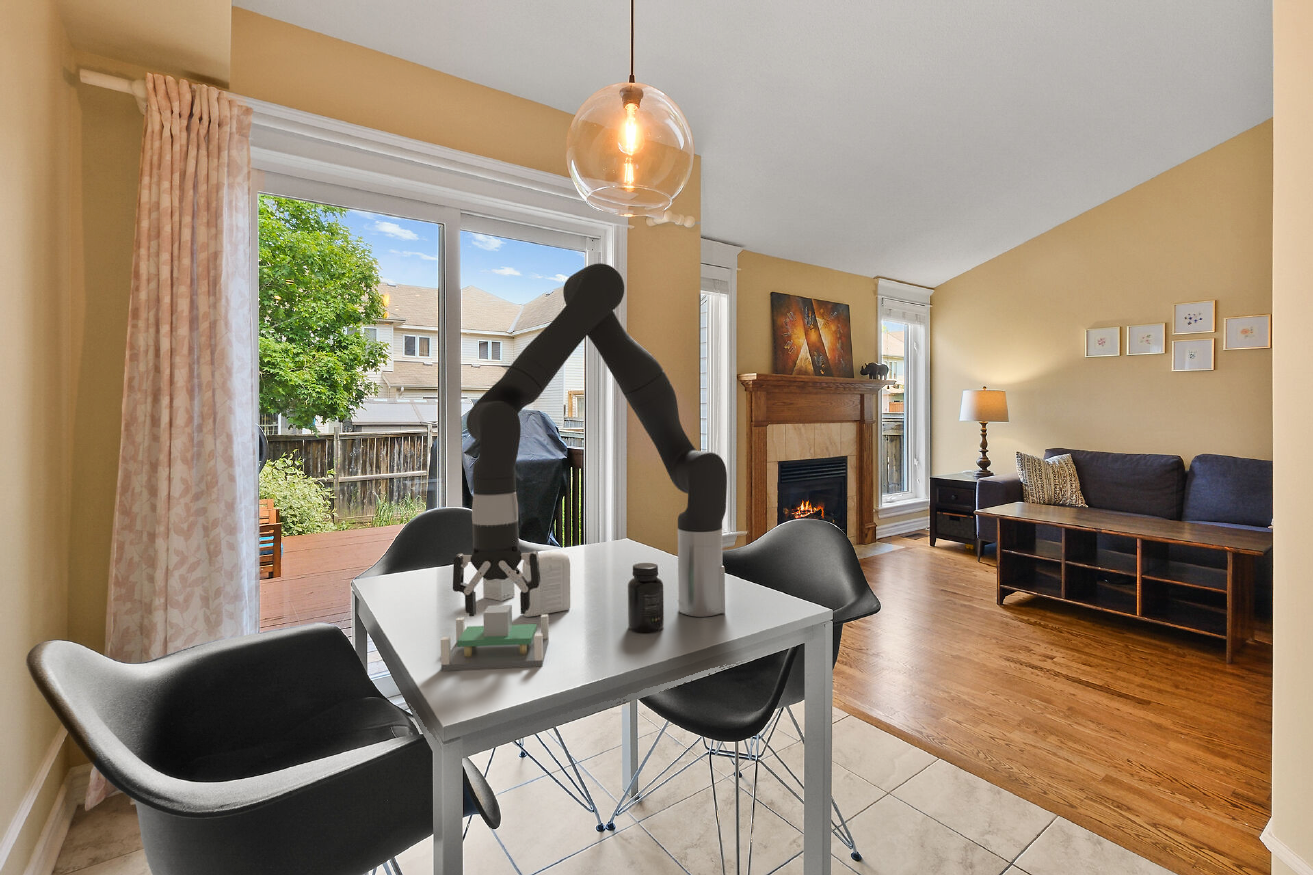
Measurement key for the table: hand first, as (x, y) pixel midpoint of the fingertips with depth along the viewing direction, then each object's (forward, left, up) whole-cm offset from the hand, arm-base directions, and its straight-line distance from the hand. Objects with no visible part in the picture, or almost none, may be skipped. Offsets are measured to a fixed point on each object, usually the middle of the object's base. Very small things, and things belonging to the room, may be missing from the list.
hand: (498, 613), depth 103 cm
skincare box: (+6, -35, -7) cm, 36 cm away
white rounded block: (-6, -23, -7) cm, 25 cm away
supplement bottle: (-26, -11, -7) cm, 29 cm away
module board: (0, 0, -4) cm, 4 cm away
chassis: (0, 0, -7) cm, 7 cm away
